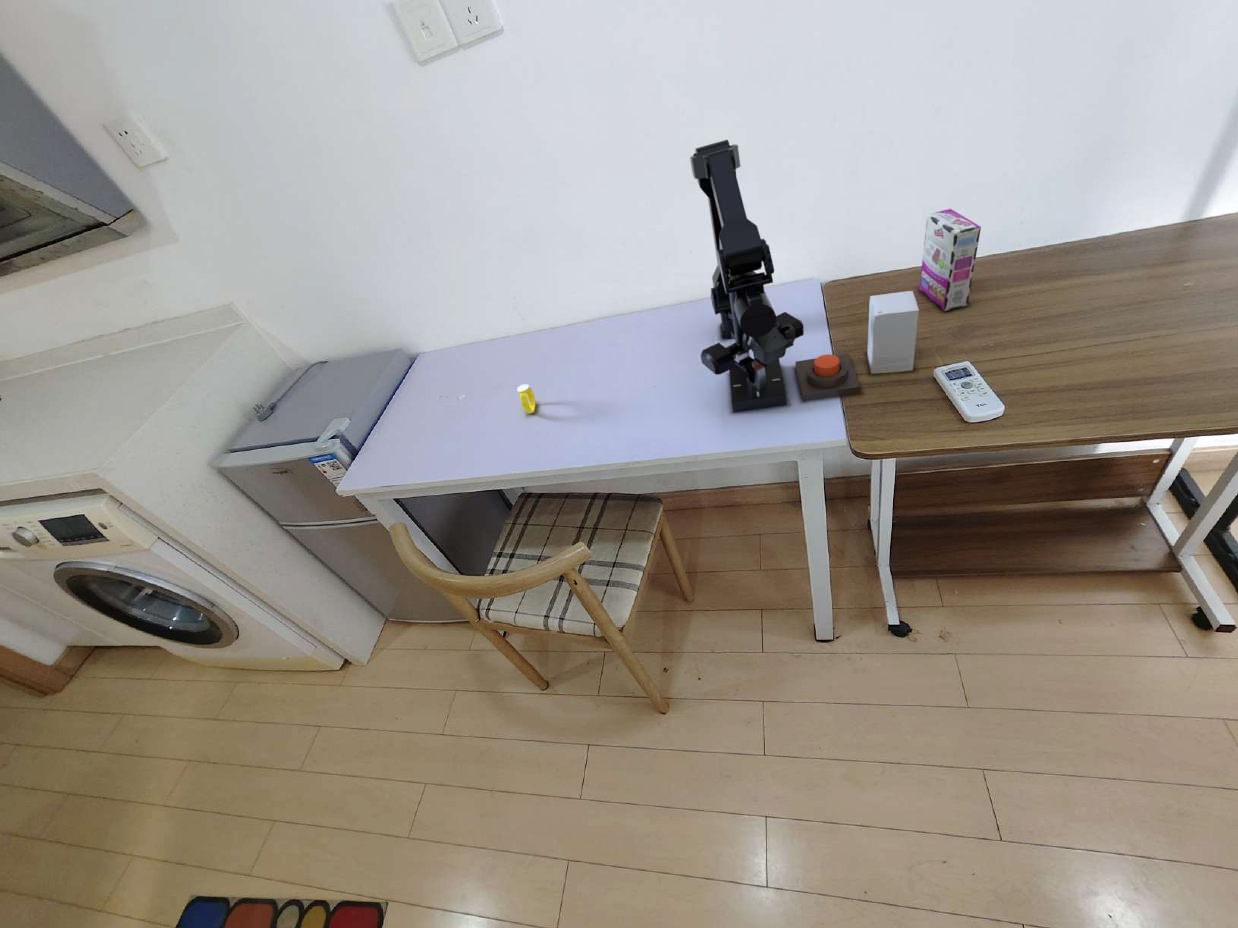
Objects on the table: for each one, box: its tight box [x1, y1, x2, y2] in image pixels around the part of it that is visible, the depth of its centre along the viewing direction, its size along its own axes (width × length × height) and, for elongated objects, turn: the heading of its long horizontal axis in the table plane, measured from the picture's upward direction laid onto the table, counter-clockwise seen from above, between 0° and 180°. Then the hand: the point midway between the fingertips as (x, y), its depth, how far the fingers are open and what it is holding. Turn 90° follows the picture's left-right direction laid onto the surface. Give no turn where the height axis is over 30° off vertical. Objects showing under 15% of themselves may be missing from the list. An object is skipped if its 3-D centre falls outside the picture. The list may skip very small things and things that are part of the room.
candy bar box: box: [919, 208, 982, 312], centre depth 116 cm, size 11×5×16 cm, turn 6°
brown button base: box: [795, 353, 861, 402], centre depth 110 cm, size 11×10×4 cm
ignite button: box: [814, 353, 839, 377], centre depth 108 cm, size 4×4×2 cm
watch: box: [516, 383, 537, 414], centre depth 128 cm, size 6×3×6 cm, turn 1°
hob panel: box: [728, 358, 788, 413], centre depth 114 cm, size 13×10×3 cm
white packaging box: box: [866, 290, 920, 375], centre depth 106 cm, size 7×7×13 cm
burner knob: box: [746, 356, 767, 390], centre depth 110 cm, size 5×2×5 cm, turn 24°
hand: (756, 380), depth 111 cm, fingers closed on burner knob, 2 cm apart
